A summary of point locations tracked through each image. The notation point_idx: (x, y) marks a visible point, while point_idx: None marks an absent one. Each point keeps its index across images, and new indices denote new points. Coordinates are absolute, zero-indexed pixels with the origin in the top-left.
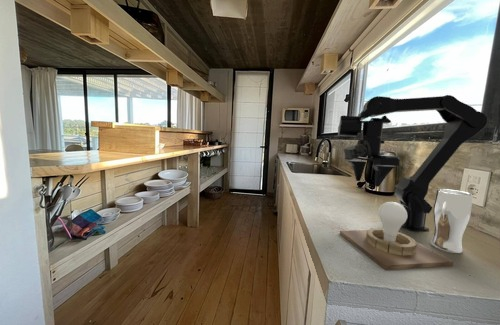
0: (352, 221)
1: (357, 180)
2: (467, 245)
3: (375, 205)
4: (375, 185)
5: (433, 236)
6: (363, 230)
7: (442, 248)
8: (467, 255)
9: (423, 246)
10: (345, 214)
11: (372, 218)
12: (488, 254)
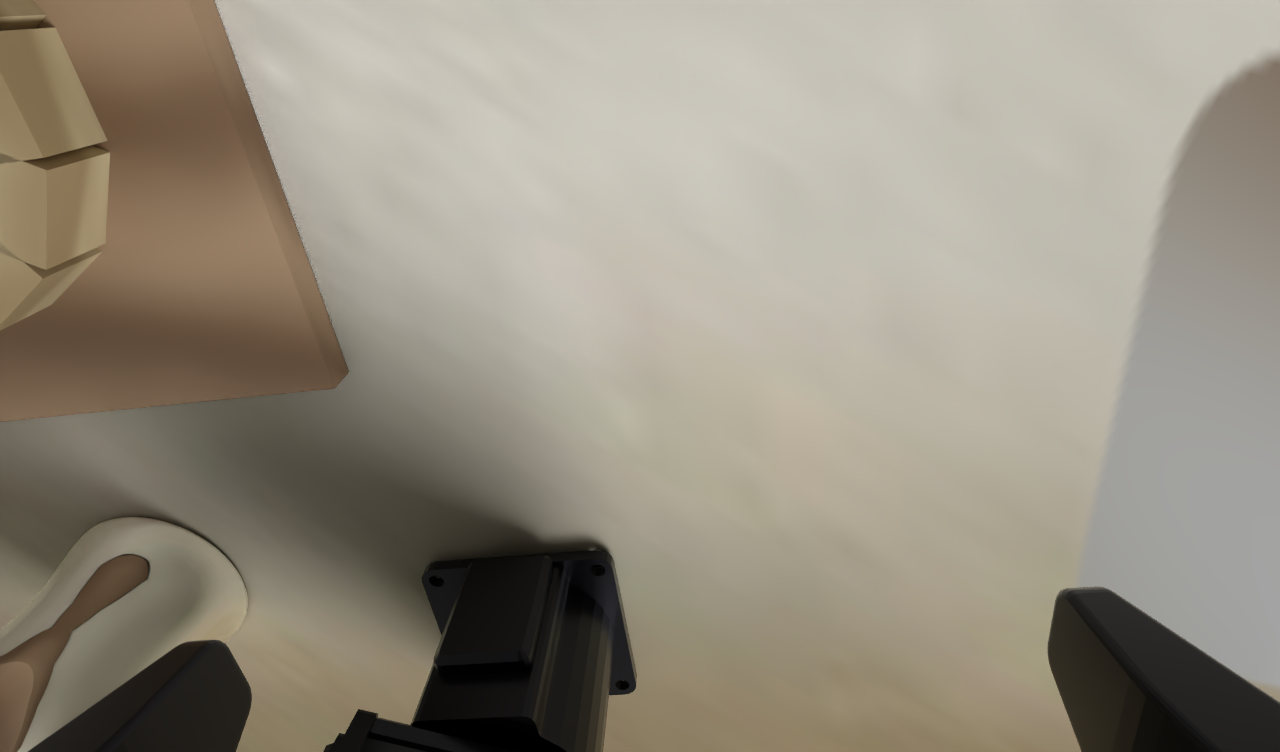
0: (619, 86)
1: (1060, 606)
2: (260, 722)
3: None
4: (170, 655)
5: (148, 582)
6: (180, 8)
7: (86, 536)
8: None
9: (3, 410)
10: (903, 123)
11: (743, 412)
12: None
